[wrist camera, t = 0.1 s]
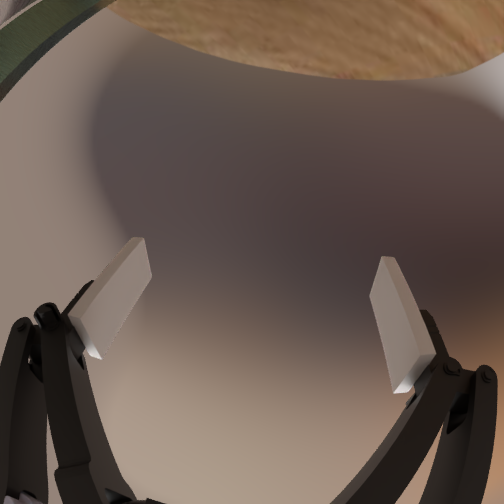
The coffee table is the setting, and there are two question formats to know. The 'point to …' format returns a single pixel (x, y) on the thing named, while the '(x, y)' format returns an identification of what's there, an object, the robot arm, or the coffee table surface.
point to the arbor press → (37, 32)
